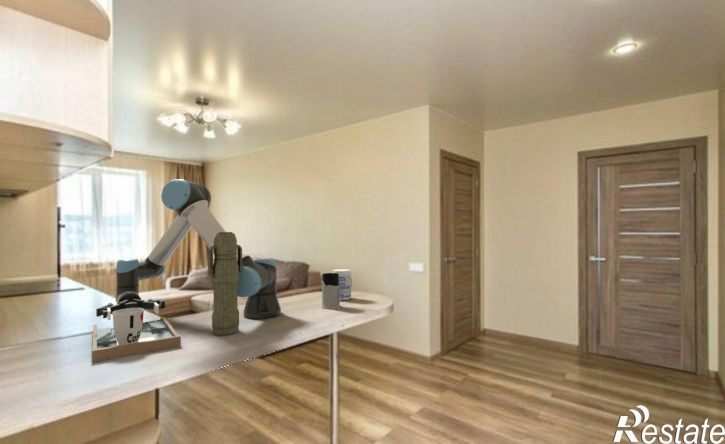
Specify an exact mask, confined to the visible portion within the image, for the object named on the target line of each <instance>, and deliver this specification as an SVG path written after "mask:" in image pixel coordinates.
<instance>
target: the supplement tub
mask: <svg viewBox="0 0 725 444" xmlns="http://www.w3.org/2000/svg"><path fill="white" fill-rule="evenodd" d="M351 270H352V269H346V268H341V269H340V268H339V269H337V268H336V269H333V270H332V273H338V274H339V285H342V280H343V278H344V277H346V276H347V277H346V278H344V280H343V285H342V286H339V300H340V299H341V298H342V297H343V296H345V295H346V294H347V293H348V291H349V289H350V287H351V289H350V291H349V293H348V294H347V295H346V296H345V297H344V298H342V299H341V300H340V301H348V300H349V301H350V300H351V298H352V286H351V279H352V271H351ZM348 277H350V278H351V279H350V278H348Z"/></svg>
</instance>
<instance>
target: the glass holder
mask: <svg viewBox="0 0 725 444" xmlns="http://www.w3.org/2000/svg"><path fill="white" fill-rule="evenodd" d="M346 277H347V276H346ZM346 277H344V278H346ZM321 278H322V279H321V306H320V307H321V309H324V310H335V309H339V308H341V305H340V303H341V301H342V300H341V299H342V298H344V297H345V296H346V295H347V294H348V293H349V291H350V289H351V290H352V286H353V281H352V280H353V279H352V277H351V278H350V277H348V278H350V279H351V287H350V289H349V291H348V293H347V294H346V295H345V296H343V297H342V298H341V299H340V300H339V286H342V285H343V280H344V278H343V280H342V285H339V274H338V273H333V272H328V273H327V272H326V273H322V277H321Z"/></svg>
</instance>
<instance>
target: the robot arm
mask: <svg viewBox="0 0 725 444" xmlns="http://www.w3.org/2000/svg"><path fill="white" fill-rule="evenodd" d="M161 190H162V191H161V194H160V195H161V196H160V197H161V201H162V204H163V205H164V206H165V207H166V208H168V209H169V210H171V211H172V210H173V211H175V213H177V215H176V217H175V218H174V220H173V221H172V222H171V224H170V225H169V226H168V227H167V229H166V231H165V232H164V233H163V234H162V235H161V237H160V239H159V240H158V242H157V243H156V245H154V248H152V250H151V252H150V253H149V254H148V255H147V257H146V258H145V259H144V261H139V259H138V258H126V259H125V258H123V259H122V258H121V259H118V260H117V261H116V270H115V272H116V275H115V276H116V278H115V279H116V285H115V286H116V288H115V290H116V291H115V292H116V295H115V303H116V304H114V303H111V302H108V303H107V304H105V305H103V306H100V307H98V308H96V314H95V315H96V317H97V318H98V317H101V316H102V319H107V321H110V320H112V318H111V317H112V315H113V312H114V311H116V310H121V309H127V308H143V309H144V310H153V311H154V312H155V314H157V315H158V314H159V313H160V310H163V309H166V301H165V300H160V299H159V300H158V299H153V298H149V299H147V300H146V301H145V300H144V299H142V298H141V297H140V295H139V290H140V285H139V284H140V281H143V280H145V281H146V280H150V279H155V278H158V277H161V276H162V275H163V274H164V273H165V269H166V266H165V265H166V263H167V262H168V261H169V259H170V258H171V256H173V254H174V252H175V251H176V250H177V248H178V247H179V246H180V244H181V243H182V242H183V240H184V239H185V237H186V236H187V235H188V234H189V231H190V230H191V229H192V228H193V229H194V231H195V232H196V233H197V234H198V235H199V237H200V238H201V239H202V241H203V242H204V244H206V246H207V247H208V249H209V248H210V247H212V246H213V245H214V239H215V236H216V234H218V232H227V231H226V230H225V229H224V227H223V226H222V225H221V224H220V222H219V221H218V220H217V219H216V217H215V216H214V215H213V213H212V212H211V211H210V209H209V207H210V205H211V202H212V195H211V192H210V190H209V188H208V187H207V186H206V185H204V184H202V183H199V182H193V181H189V180H186V179H182V178H181V179H177V178H175V179H171V180H169V181H168V182H167V183H165V185H164V186H163V188H162V189H161ZM213 255H214V250H213ZM236 258H237V263H238V248H237V254H236ZM277 269H278V267H277V262H276V260H275V259H253V258H252V257H251V256H250V255H249V254H244V253H243V252H242V273H241V274H240V275H239V282H238V284H237V298H247V299H246V302H245V306H244V309H243V317H244V318H247V319H252V320H253V319H254V320H255V319H256V320H257V319H259V320H261V319H268V318H269V319H270V318H274V317H278V316H280V315H281V313H282V307H281V306H280V301H279V299H278V296H277V295H278V293H277V292H278V291H277V281H278V280H277V278H278V277H277Z"/></svg>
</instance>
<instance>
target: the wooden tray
mask: <svg viewBox="0 0 725 444" xmlns="http://www.w3.org/2000/svg"><path fill="white" fill-rule="evenodd" d="M92 326H93V327H92V349H91V350H92V351H91V352H92V354H91V357H92V358H91V359H92V361H91V362H92V363H95V362H101V361H104V360H111V359H116V358H122V357H128V356H132V355H133V356H134V355H140V354H144V353H150V352H154V351H160V350H167V349H172V348H179V347H181V345H182V341H181V340H182V339H181V338H182V336H181V335H179V333H177V331H176V330H175V328H174V327H173V326H172V324H171V323H170V322H169V321H168V319H167V318H166V317H165V316H164V315H160V319H159V320H153V321H148V326H149V328H150V329H146V330H141V334H140V337H139V340H138V342H137V343H132V344H126V345H118V342H117V339H116V336H115V334H112V330H111V329H112V328H111V326H109V327H108V326H107V327H103V328H97V326H98V325H97V324H94V325H92Z"/></svg>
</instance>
